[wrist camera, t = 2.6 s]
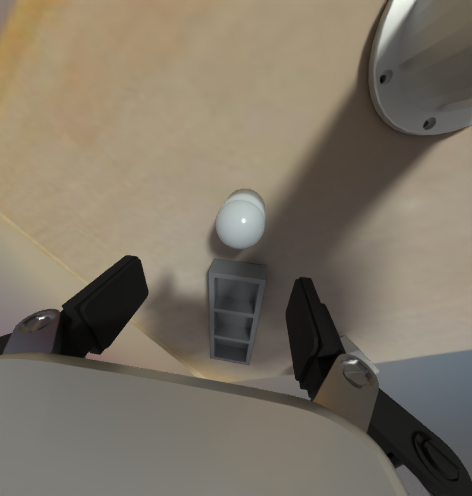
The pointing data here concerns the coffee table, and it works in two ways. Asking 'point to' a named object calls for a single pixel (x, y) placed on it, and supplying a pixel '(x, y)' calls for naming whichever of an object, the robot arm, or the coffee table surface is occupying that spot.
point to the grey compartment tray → (234, 308)
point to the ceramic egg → (241, 219)
